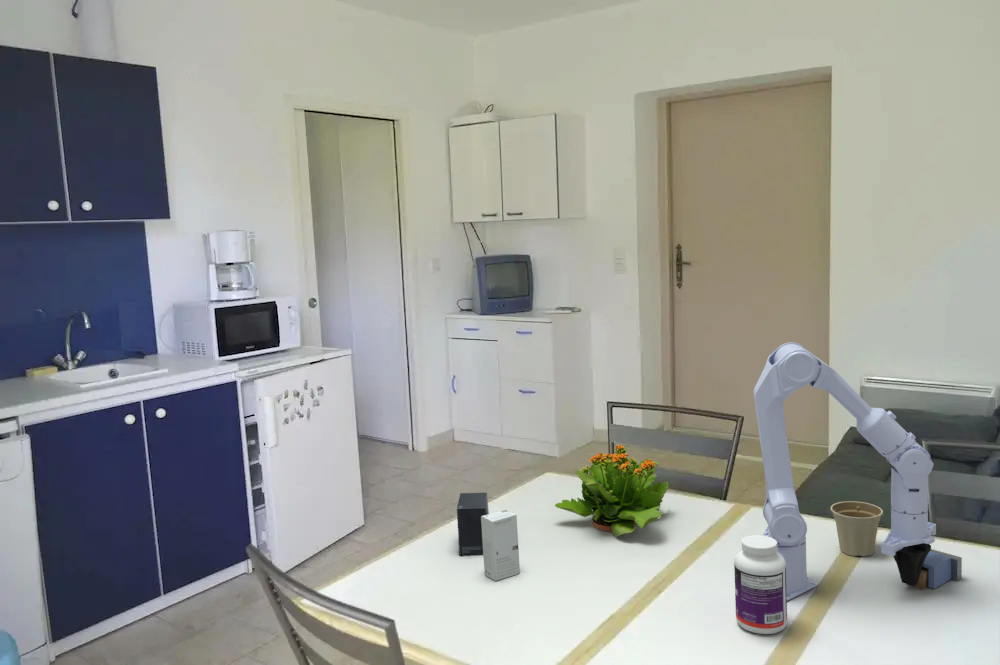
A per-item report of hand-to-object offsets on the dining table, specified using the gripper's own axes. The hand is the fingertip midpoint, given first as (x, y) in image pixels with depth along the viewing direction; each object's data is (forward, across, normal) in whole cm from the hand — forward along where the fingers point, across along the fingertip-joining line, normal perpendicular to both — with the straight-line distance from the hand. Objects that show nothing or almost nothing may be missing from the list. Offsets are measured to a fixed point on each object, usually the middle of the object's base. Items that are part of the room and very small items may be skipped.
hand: (909, 583), depth 139 cm
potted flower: (+1, -16, +60) cm, 62 cm away
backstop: (+1, +9, 0) cm, 9 cm away
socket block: (+1, +6, 0) cm, 6 cm away
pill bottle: (+1, -29, +9) cm, 31 cm away
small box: (+1, -46, +71) cm, 84 cm away
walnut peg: (+1, +4, 0) cm, 4 cm away
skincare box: (+1, -50, +55) cm, 74 cm away
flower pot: (+1, +9, +15) cm, 17 cm away
